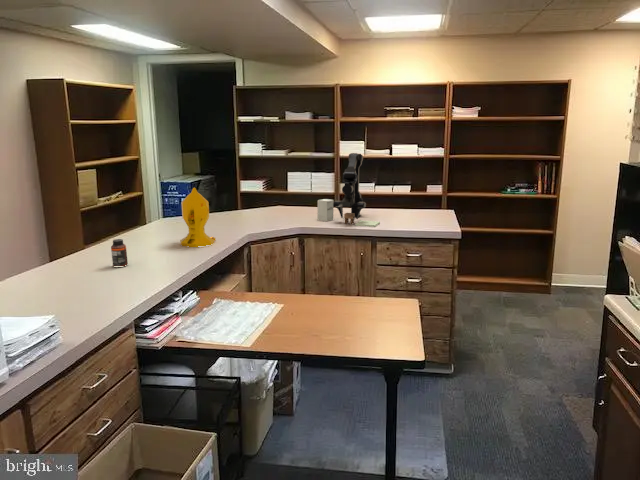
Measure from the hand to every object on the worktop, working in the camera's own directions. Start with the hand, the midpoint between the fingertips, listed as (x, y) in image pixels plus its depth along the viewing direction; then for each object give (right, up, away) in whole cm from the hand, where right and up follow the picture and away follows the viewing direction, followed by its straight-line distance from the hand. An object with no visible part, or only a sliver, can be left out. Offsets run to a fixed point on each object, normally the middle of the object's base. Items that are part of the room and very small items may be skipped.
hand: (349, 218), depth 309 cm
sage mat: (+11, -4, -2) cm, 11 cm away
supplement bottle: (-102, -24, -90) cm, 138 cm away
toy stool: (0, -3, +1) cm, 3 cm away
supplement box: (-14, -1, +12) cm, 18 cm away
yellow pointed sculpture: (-78, -15, -49) cm, 93 cm away
